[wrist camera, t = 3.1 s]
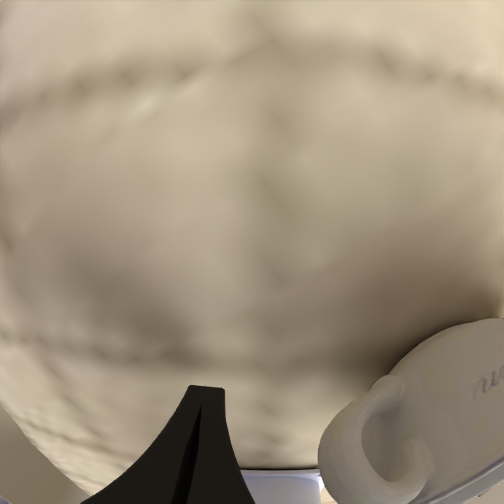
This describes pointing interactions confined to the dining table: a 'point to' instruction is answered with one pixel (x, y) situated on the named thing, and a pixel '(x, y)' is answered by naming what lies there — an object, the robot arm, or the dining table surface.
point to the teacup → (424, 425)
